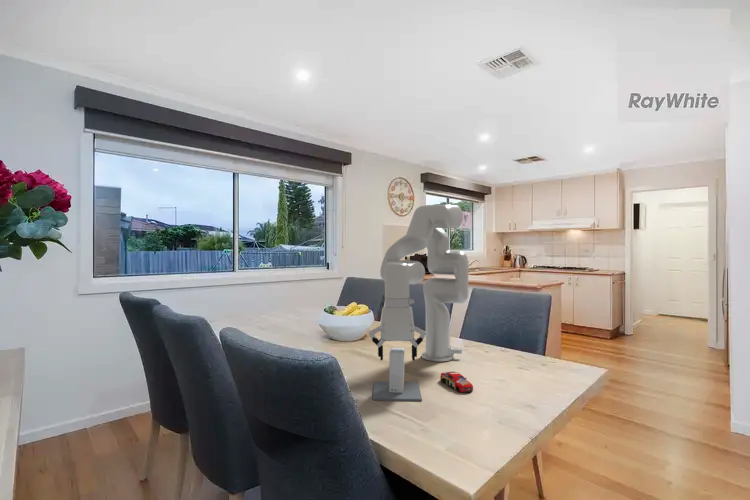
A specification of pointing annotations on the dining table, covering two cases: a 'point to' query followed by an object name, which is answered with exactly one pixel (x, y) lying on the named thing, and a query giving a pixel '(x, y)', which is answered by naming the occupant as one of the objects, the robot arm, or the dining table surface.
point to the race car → (456, 381)
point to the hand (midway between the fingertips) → (397, 359)
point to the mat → (409, 393)
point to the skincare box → (396, 370)
